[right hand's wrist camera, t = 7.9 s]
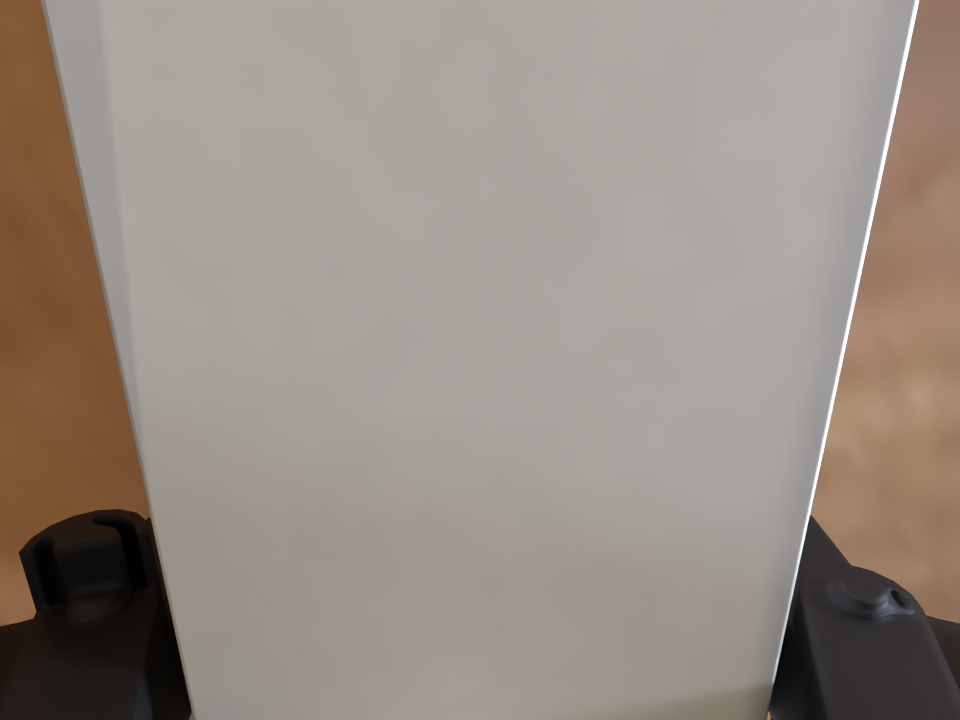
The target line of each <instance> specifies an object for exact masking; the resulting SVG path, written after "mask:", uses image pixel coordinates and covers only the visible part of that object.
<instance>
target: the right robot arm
mask: <svg viewBox="0 0 960 720" xmlns="http://www.w3.org/2000/svg"><path fill="white" fill-rule="evenodd" d="M19 555H20V558H21V562H22V565H23V568H24V571H25V575H26V578H27V581H28V585H29V588H30V591H31V594H32V598H33V601H34V604H35V608H36V611H37V612H36V614H35V616H34V618H33V619H30V620H26V621H23V622H19V623H14V624H10V625H5V626H1V627H0V720H189V717H190V715H191V713H192V709H191V705H190V700H189V695H188V690H187V686H186V681H185V676H184V672H183V667H182V662H181V658H180V653H179V648H178V643H177V639H176V634H175V629H174V625H173V620H172V615H171V611H170V606H169V601H168V596H167V592H166V587H165V582H164V578H163V573H162V568H161V564H160V559H159V554H158V550H157V545H156V540H155V535H154V531H153V526H152V521H151V518H148V519H147V520H145V519H144V518H142V517H141V516H140V515H139V514H137V513H135V512H130V511H126V510H121V509H114V510H97V511H93V512H89V513H84V514H80V515H76V516H73V517H70V518H68V519H65V520H63V521H61V522H58V523H56V524H53V525H51V526H49V527H48V528H46V529H45V530H43V531H42V532H40V533H39V534H37V535H35V536H34V537H32V538H31V539H30V540H29V541H28V542H27V544H26V545H25V546H24V547H23V548H22V549H21V551H20V552H19ZM768 710H769V712H770V714H771V720H960V624H959V623H954V622H950V621H945V620H940V619H937V618H933V617H930V616H926V615H925V613H924V610H923V609H922V608H921V606H920V605H919V604H918V602H917V601H916V600H915V598H914V597H913V595H911V594H910V593H909V592H907V591H906V590H905V589H903V588H902V587H901V586H899V585H898V584H897V583H896V582H894V581H892V580H890V579H888V578H886V577H884V576H882V575H880V574H878V573H875V572H873V571H871V570H867V569H863V568H860V567H856V566H852V565H850V563H849V562H848V561H847V560H846V558H845V557H844V556H843V555H842V553H841V552H840V551H839V549H838V548H837V547H836V546H835V544H834V543H833V542H832V541H831V539H830V538H829V537H828V536H827V534H826V533H825V532H824V530H823V529H822V528H821V527H820V525H819V524H818V523H817V522H816V520H815V519H814V518H813V517H812V515H810V516H809V521H808V525H807V530H806V535H805V540H804V544H803V549H802V554H801V558H800V563H799V568H798V572H797V577H796V582H795V587H794V591H793V596H792V601H791V605H790V610H789V615H788V620H787V624H786V629H785V634H784V638H783V643H782V648H781V652H780V657H779V662H778V667H777V671H776V676H775V681H774V685H773V690H772V695H771V699H770V704H769V709H768Z"/></svg>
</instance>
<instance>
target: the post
mask: <svg viewBox="0 0 960 720" xmlns="http://www.w3.org/2000/svg"><path fill="white" fill-rule="evenodd" d="M918 3H919V0H41V4H42V9H43V14H44V18H45V23H46V28H47V33H48V37H49V42H50V47H51V51H52V56H53V61H54V65H55V70H56V75H57V80H58V84H59V89H60V94H61V98H62V103H63V108H64V112H65V117H66V122H67V127H68V131H69V136H70V141H71V145H72V150H73V155H74V159H75V164H76V169H77V174H78V178H79V183H80V188H81V192H82V197H83V202H84V206H85V211H86V216H87V221H88V225H89V230H90V235H91V239H92V244H93V249H94V253H95V258H96V263H97V268H98V272H99V277H100V282H101V286H102V291H103V296H104V300H105V305H106V310H107V315H108V319H109V324H110V329H111V333H112V338H113V343H114V347H115V352H116V357H117V362H118V366H119V371H120V376H121V380H122V385H123V390H124V394H125V399H126V404H127V409H128V413H129V418H130V423H131V427H132V432H133V437H134V441H135V446H136V451H137V456H138V460H139V465H140V470H141V474H142V479H143V484H144V488H145V493H146V498H147V503H148V507H149V512H150V517H151V521H152V526H153V531H154V535H155V540H156V545H157V550H158V554H159V559H160V564H161V568H162V573H163V578H164V582H165V587H166V592H167V596H168V601H169V606H170V611H171V615H172V620H173V625H174V629H175V634H176V639H177V643H178V648H179V653H180V658H181V662H182V667H183V672H184V676H185V681H186V686H187V690H188V695H189V700H190V705H191V709H192V714H193V719H194V720H766V718H767V714H768V709H769V704H770V699H771V695H772V690H773V685H774V681H775V676H776V671H777V667H778V662H779V657H780V652H781V648H782V643H783V638H784V634H785V629H786V624H787V620H788V615H789V610H790V605H791V601H792V596H793V591H794V587H795V582H796V577H797V572H798V568H799V563H800V558H801V554H802V549H803V544H804V540H805V535H806V530H807V525H808V521H809V516H810V511H811V507H812V502H813V497H814V492H815V488H816V483H817V478H818V474H819V469H820V464H821V460H822V455H823V450H824V445H825V441H826V436H827V431H828V427H829V422H830V417H831V413H832V408H833V403H834V398H835V394H836V389H837V384H838V380H839V375H840V370H841V365H842V361H843V356H844V351H845V347H846V342H847V337H848V333H849V328H850V323H851V318H852V314H853V309H854V304H855V300H856V295H857V290H858V286H859V281H860V276H861V271H862V267H863V262H864V257H865V253H866V248H867V243H868V238H869V234H870V229H871V224H872V220H873V215H874V210H875V206H876V201H877V196H878V191H879V187H880V182H881V177H882V173H883V168H884V163H885V158H886V154H887V149H888V144H889V140H890V135H891V130H892V126H893V121H894V116H895V111H896V107H897V102H898V97H899V93H900V88H901V83H902V79H903V74H904V69H905V64H906V60H907V55H908V50H909V46H910V41H911V36H912V31H913V27H914V22H915V17H916V13H917V8H918Z"/></svg>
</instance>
